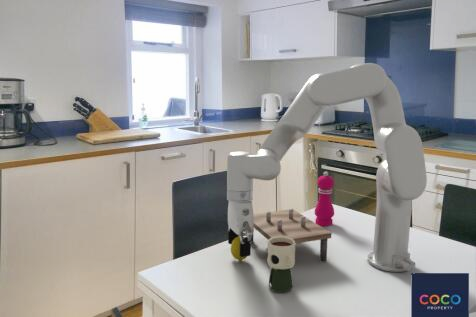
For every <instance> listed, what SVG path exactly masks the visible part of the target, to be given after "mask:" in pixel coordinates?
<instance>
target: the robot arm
mask: <svg viewBox="0 0 476 317" xmlns="http://www.w3.org/2000/svg"><path fill="white" fill-rule="evenodd" d="M363 99H365V101H366V103H367V105H368V107H369V112H370V117H371V123H372V124H371V125H372V129H373V130H372V132H373V138H374V144H375V147H376V148H377V150H379V152H381V153H382V154H383V155H384V156H385V159H384V160H383V161H381V162H380V164H379V165H378V167H377V171H376V176H375V177H376V178H375V180H376V181H375V182H376V208H375V210H376V211H375V223H374V238H373V239H374V240H373V251H372V252H370V253H368V255H367V263H369V265H371V266H372V267H374V268H376V269H378V270H381V271H386V272H393V273H399V272H400V273H402V272H407V271H408V272H410V271H411V270H412V269H413V267H415V266H416V262H415V261H414V260H412V259H411V253H410V252H409V242H410V241H409V240H410V227H411V219H412V218H411V217H412V211H413V210H412V208H413V207H412V206H413V205H412V204H413V201H414V200H416V199H418V198H420V197H421V196H422V195H423V194H424V193H425V190H426V187H427V180H428V179H427V170H426V168H427V167H426V161H425V154H424V152H425V151H424V147H423V142H422V141H423V140H422V138H421V137H420V134H419V133H418V131H417V130H416V129H415V128H414V127H412V126H411V125H408V124H407V123H406V119H405V112H404V108H403V102H402V97H401V95H400V92H399V90H398V88H397V86H396V85H395V83H394V82H393V81H392V79H391V78H390V77H389V76H388V75H387V73H386V71H385V69H384V68H383V67H382V66H381V65H379V64H377V63H373V62H367V63H365V62H364V63H363V62H361V63H356V64H353V65H352V66H351V67H349V68H344V69H341V70H336V71H330V72H323V73H322V72H321V73H319V72H318V73H316V74H313V75H312V76H311V77H310V78H309V79H308V80H307V81H306V82H305V84H304V85H303V87H302V88H301V89H300V91H299V93H298V94H297V95H296V97H295V98H294V99H293V101H292V102H291V104H290V105H289V106H288V108H287V109H286V111H285V113H284V114H283V115H282V117H281V118H280V119H279V120H278V122H277V123H276V125H275V126H274V127H273V129H272V130H271V131H270V133H269V134H268V135H267V137H266V138H265V139H264V141H263V142H262V144H261V146H260V147H259V148H258V149H257V152H256V153H255V154H252V153H251V152H248V151H243V150H242V151H241V150H240V151H231V152H229V153H228V155H227V160H226V163H227V164H226V200H227V201H228V204H227V205H228V206H227V225H228V227H227V231H228V232H227V234H228V235H227V238H228V240H227V243H228V244H229V245H231V244H232V241H233V240H234V239H235V238H236V237H239V236H240V240H241V243H240V257H245V256H247V257H250V256H251V255H252V254H251V253H252V251H251V250H252V243H251V241H252V235H253V236H254V231H255V228H254V220H253V214H254V207H253V206H254V205H253V202H252V201H254V200H253V199H254V197H253V196H254V179H255V180H259V181H273V180H275V179H276V178H278V176H279V175H280V174H281V169H282V168H281V167H282V166H281V161H282V160H283V158H284V156H285V155H286V154H287V153H288V151H289V150H290V148H291V147H292V146H293V145H294V144H296V142H297V141H298V140H300V139H302V138H303V137H305V136H306V135H307V134H308V133H309V132H310V131H311V130H312V128H313V127H314V126H315V124H316V123H317V121H318V120H319V118H320V117H321V116H322V114H323V113H324V112H325V110H326V109H327V108H328V107H331V106H337V105H343V104H347V103H350V102H351V103H352V102H355V101H360V100H363ZM243 237H244V239H243Z"/></svg>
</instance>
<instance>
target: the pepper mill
mask: <svg viewBox="0 0 476 317" xmlns="http://www.w3.org/2000/svg"><path fill="white" fill-rule="evenodd" d="M316 184H317V186H318V194H319V197H318V202H317V203H316V205H315V208H314V215H315V222H314V223H316V224H317V225H319V226H321V227H330V226H332V225H333V222H334V220H333V217H334V216H335V208H334V206H333V204H332V198H331V196H332V195H331V194H332V193H333V187H334V186H335V180H334V178H333V177H332V176H330V175H329V172H328V171H324V172H323V175H321V176H319V177H318V178H317V182H316Z"/></svg>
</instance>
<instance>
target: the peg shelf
mask: <svg viewBox="0 0 476 317" xmlns="http://www.w3.org/2000/svg"><path fill="white" fill-rule="evenodd" d="M253 220H254V230H256V231H257V232H259V233H260V234H261V235H262V236H263V237H264V238H265V239H266V240H267V241H268V240H269V239H270V238H273V237H288V238H291V239H293V240H294V241H295V245H296V244H303V243H308V242H309V243H310V242H315V241H320V243H319V244H320V249H319V261H320V262H323V263H325V262H327V257H328V254H327V253H328V239H332V232H331V231H328V230H327V229H325V228H324V227H323V226H320V225H317V224H316V223H315V222H314V221H313V220H311V219H310V218H308V217H306V216H304V214H302V213H300V212H298V211H296V210H294V209H293V208H289V209H285V210H284V209H283V210H276V211H266V212H261V213H259V212H258V213H253ZM253 243H254V234H253V235H252V241H251V244H253Z"/></svg>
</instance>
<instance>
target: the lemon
mask: <svg viewBox="0 0 476 317" xmlns="http://www.w3.org/2000/svg"><path fill="white" fill-rule="evenodd" d="M244 238H245V236H243V239H244ZM240 243H241V240H240V236H239V237H236V238H235V239H234V240H233V241H232V244H230V253H231V256H232V257H233V258H234V259H235V260H237V261H239V262H242V261H243V260H246V258H248V256H245V257H240Z"/></svg>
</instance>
